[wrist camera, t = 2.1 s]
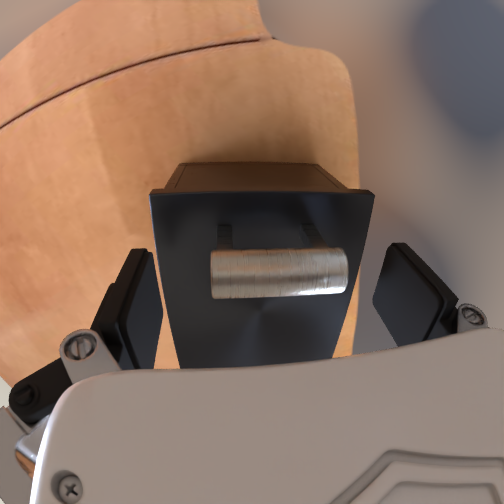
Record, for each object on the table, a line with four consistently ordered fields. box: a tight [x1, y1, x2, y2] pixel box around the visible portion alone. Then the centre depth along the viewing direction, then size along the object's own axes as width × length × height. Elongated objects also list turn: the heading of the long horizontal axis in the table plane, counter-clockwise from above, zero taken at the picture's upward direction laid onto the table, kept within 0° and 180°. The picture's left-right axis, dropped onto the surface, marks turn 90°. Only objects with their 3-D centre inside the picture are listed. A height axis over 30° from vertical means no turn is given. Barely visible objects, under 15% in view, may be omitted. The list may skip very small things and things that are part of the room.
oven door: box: [149, 186, 375, 369], centre depth 15 cm, size 14×11×5 cm
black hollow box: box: [164, 162, 348, 189], centre depth 21 cm, size 13×11×9 cm
